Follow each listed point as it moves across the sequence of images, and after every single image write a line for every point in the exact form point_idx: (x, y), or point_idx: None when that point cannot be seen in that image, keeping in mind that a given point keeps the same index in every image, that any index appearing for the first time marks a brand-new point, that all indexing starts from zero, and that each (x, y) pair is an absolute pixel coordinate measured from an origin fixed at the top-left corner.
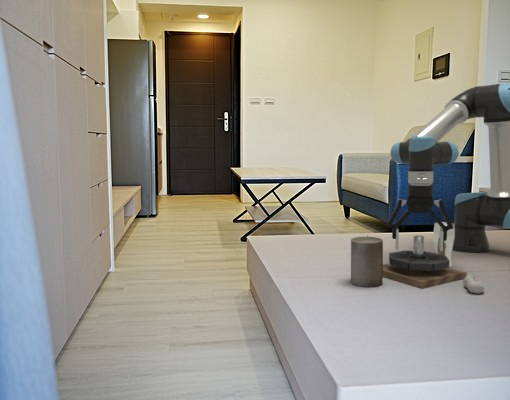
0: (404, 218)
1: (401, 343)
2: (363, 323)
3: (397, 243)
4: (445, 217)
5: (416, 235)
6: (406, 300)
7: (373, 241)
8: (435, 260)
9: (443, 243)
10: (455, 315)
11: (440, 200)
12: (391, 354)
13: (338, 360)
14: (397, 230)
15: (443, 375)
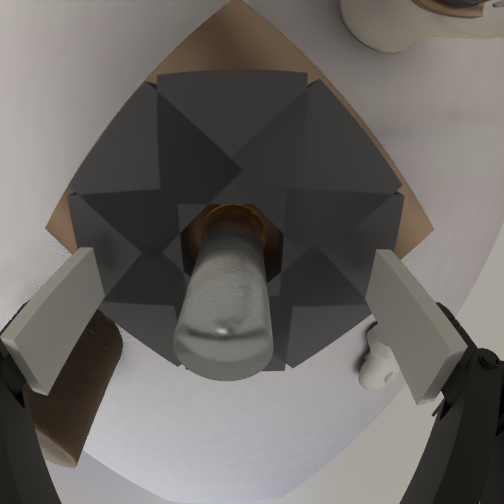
0: (50, 497)
1: (202, 485)
2: (152, 465)
3: (84, 321)
4: (488, 492)
5: (199, 321)
6: (198, 421)
7: (59, 462)
8: (315, 312)
9: (444, 28)
10: (279, 451)
11: None
12: (195, 491)
13: (157, 491)
14: (41, 389)
15: (236, 500)
